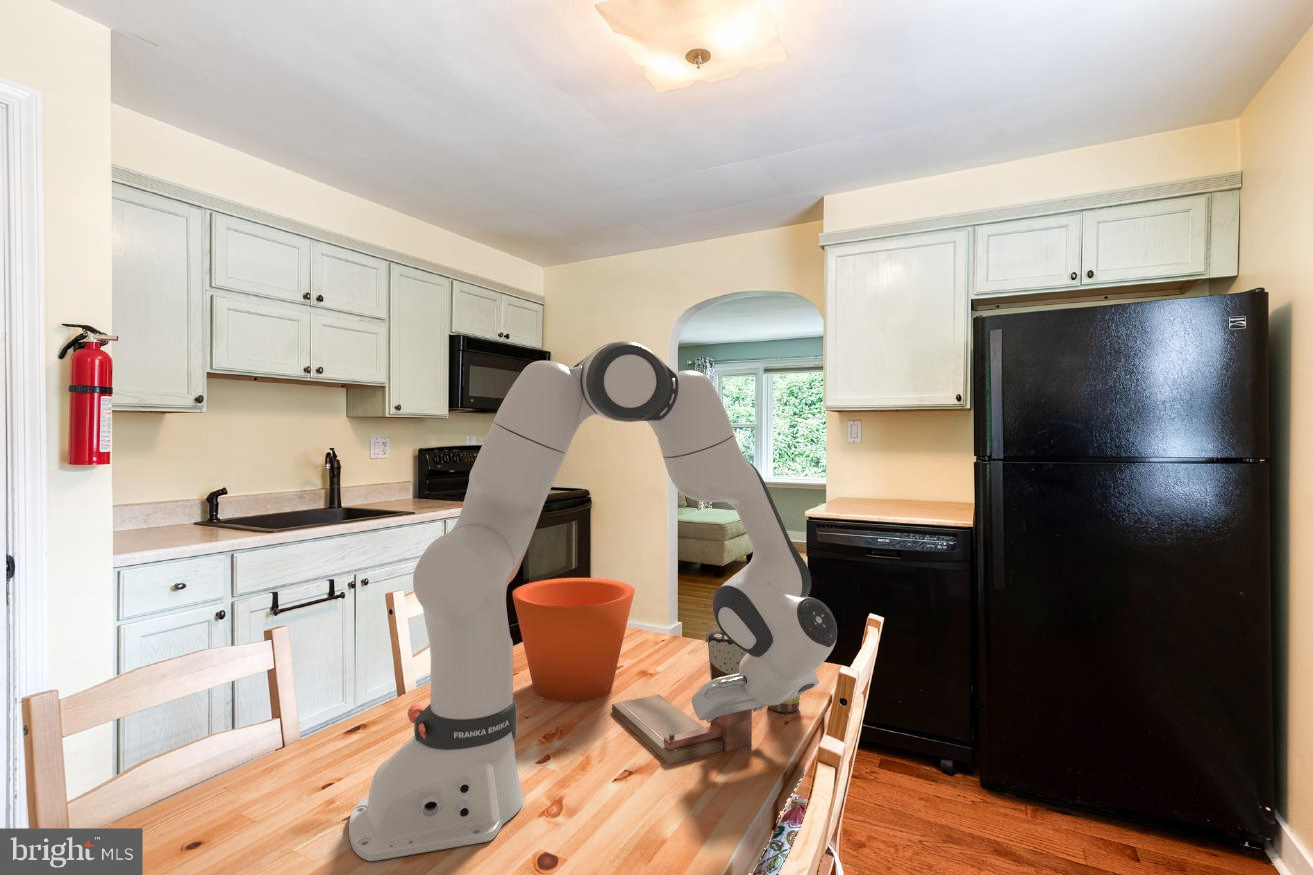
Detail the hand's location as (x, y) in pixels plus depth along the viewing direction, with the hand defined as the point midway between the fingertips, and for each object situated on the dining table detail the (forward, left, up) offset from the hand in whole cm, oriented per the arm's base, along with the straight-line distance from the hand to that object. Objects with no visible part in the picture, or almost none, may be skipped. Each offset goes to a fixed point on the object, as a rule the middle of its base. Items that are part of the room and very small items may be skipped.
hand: (732, 712), depth 109 cm
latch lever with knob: (-5, 0, -5) cm, 7 cm away
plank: (-8, +9, -5) cm, 13 cm away
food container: (+17, +22, -5) cm, 28 cm away
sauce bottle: (+17, +7, -5) cm, 19 cm away
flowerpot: (-15, +35, -5) cm, 39 cm away
